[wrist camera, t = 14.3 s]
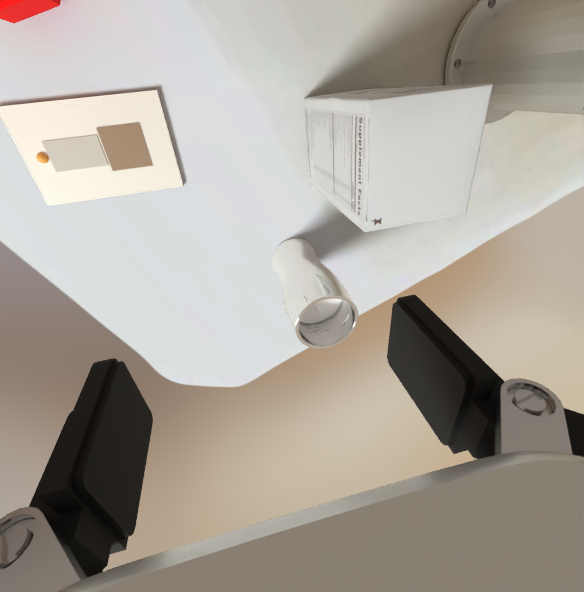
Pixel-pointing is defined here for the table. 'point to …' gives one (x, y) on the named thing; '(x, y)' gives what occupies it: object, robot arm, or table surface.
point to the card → (95, 145)
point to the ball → (24, 8)
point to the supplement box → (396, 151)
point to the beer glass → (313, 296)
